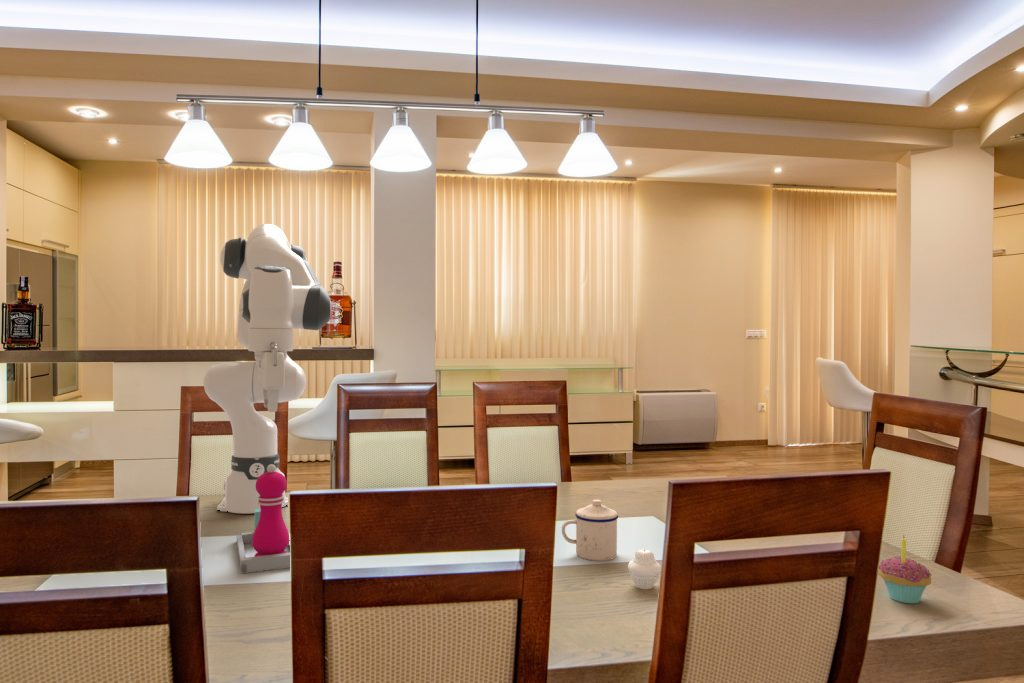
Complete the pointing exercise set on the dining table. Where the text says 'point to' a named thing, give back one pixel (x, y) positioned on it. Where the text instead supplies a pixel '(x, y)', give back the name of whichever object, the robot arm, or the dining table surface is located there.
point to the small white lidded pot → (644, 569)
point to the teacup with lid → (594, 532)
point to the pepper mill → (270, 514)
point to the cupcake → (904, 577)
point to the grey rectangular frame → (259, 561)
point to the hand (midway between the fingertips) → (270, 409)
